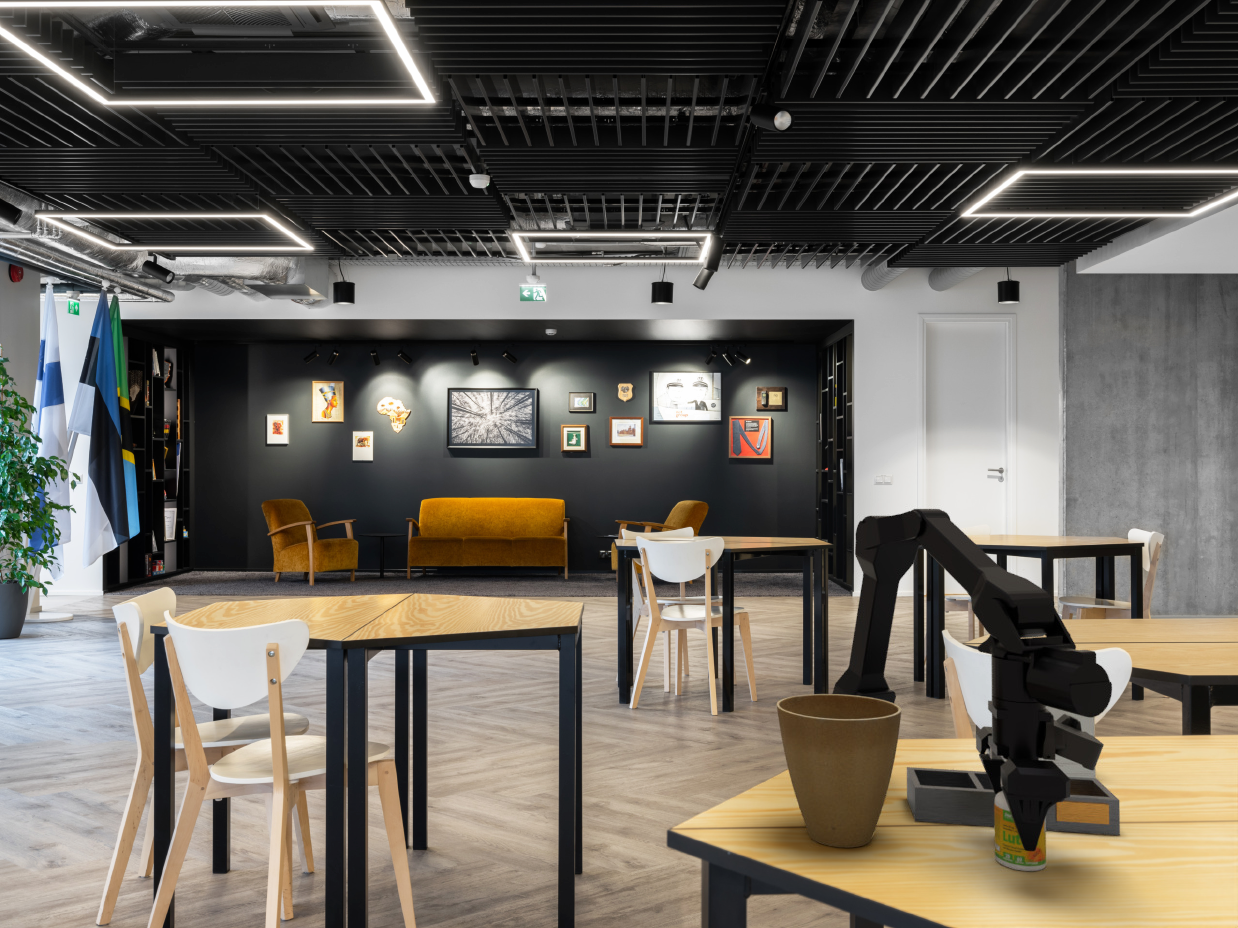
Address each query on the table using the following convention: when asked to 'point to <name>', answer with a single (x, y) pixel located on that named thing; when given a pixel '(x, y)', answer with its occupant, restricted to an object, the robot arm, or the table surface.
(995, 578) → the robot arm
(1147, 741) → the table surface
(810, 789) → the plant pot
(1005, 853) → the supplement bottle
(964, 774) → the compartment organizer tray
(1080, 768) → the supplement box
